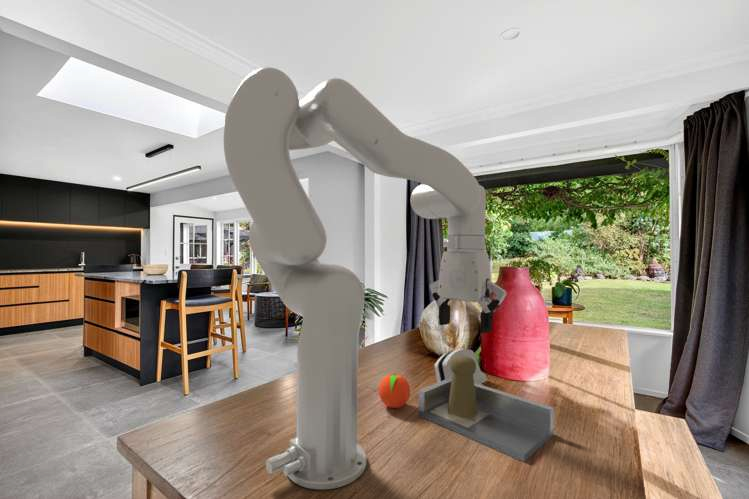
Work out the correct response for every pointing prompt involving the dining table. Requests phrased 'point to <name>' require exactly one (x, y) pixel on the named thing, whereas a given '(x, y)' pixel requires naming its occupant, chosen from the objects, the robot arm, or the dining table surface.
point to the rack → (492, 419)
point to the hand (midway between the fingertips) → (464, 328)
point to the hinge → (445, 371)
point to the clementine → (394, 391)
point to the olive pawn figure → (462, 387)
